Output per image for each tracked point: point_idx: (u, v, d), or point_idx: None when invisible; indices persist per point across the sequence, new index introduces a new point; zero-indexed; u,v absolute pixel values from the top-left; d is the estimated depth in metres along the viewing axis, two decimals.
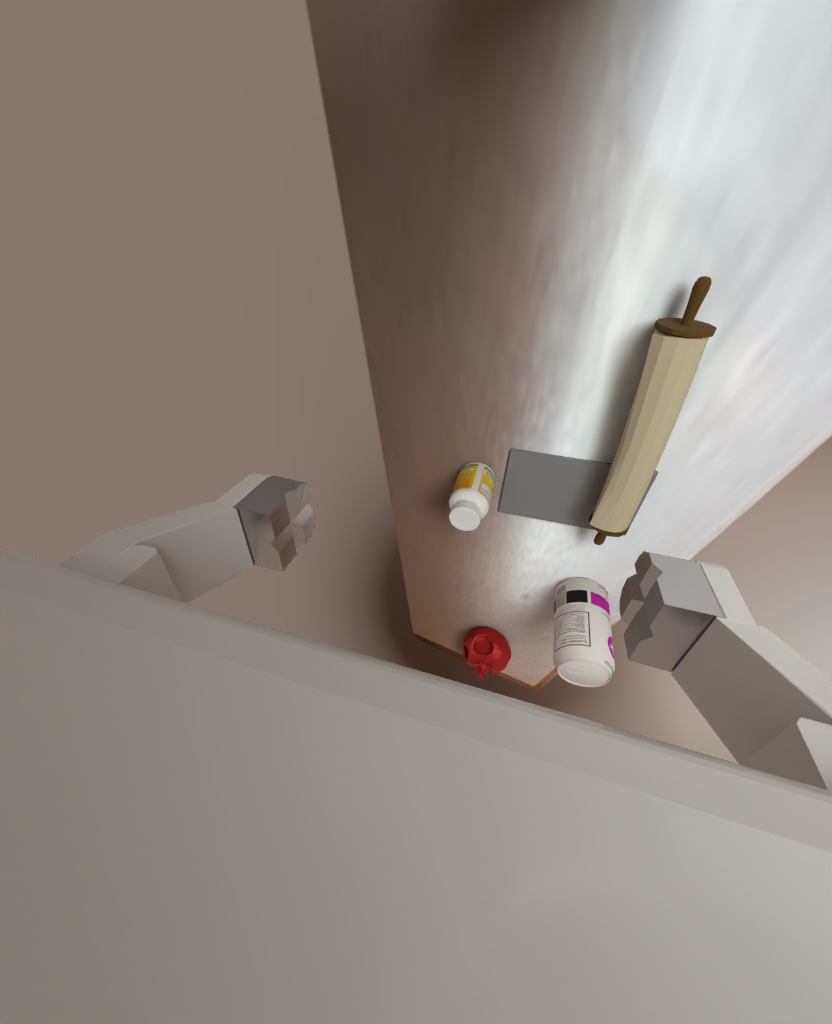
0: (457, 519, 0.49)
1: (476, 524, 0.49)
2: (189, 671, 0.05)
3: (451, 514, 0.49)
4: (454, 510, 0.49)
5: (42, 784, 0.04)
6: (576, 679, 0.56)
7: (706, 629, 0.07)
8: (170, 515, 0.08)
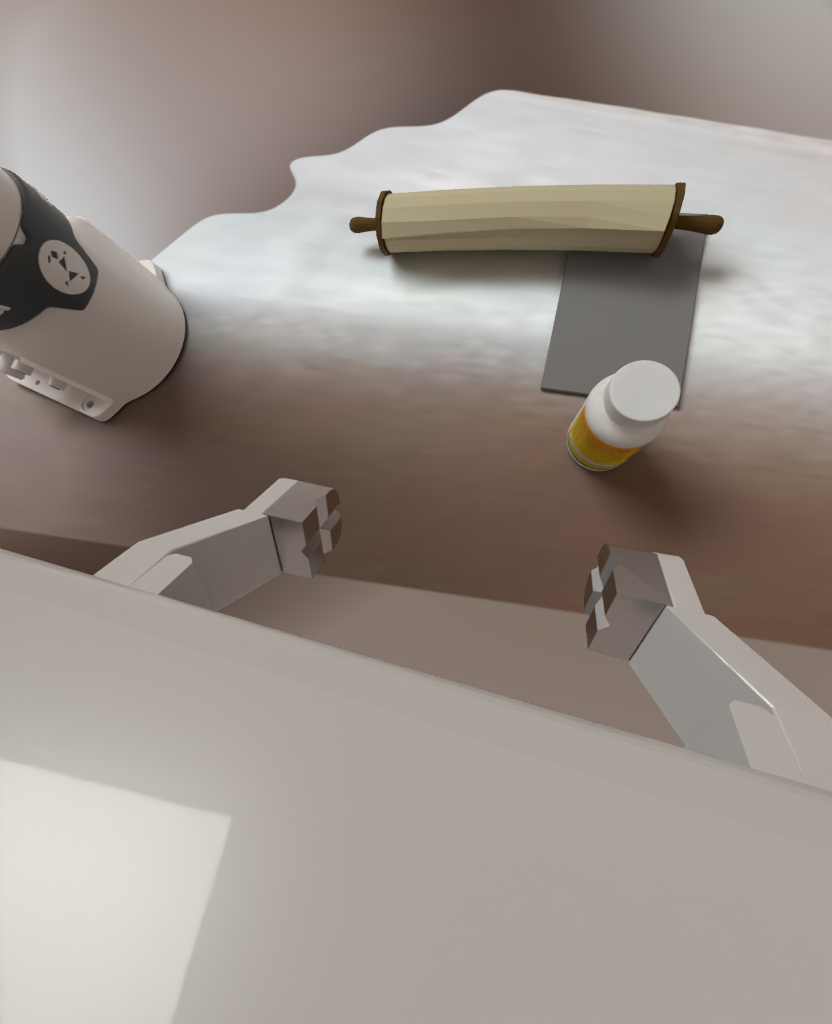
0: (646, 403, 0.23)
1: (656, 365, 0.23)
2: (189, 671, 0.05)
3: (632, 415, 0.23)
4: (619, 408, 0.23)
5: (44, 783, 0.04)
6: None
7: (657, 618, 0.07)
8: (201, 523, 0.08)
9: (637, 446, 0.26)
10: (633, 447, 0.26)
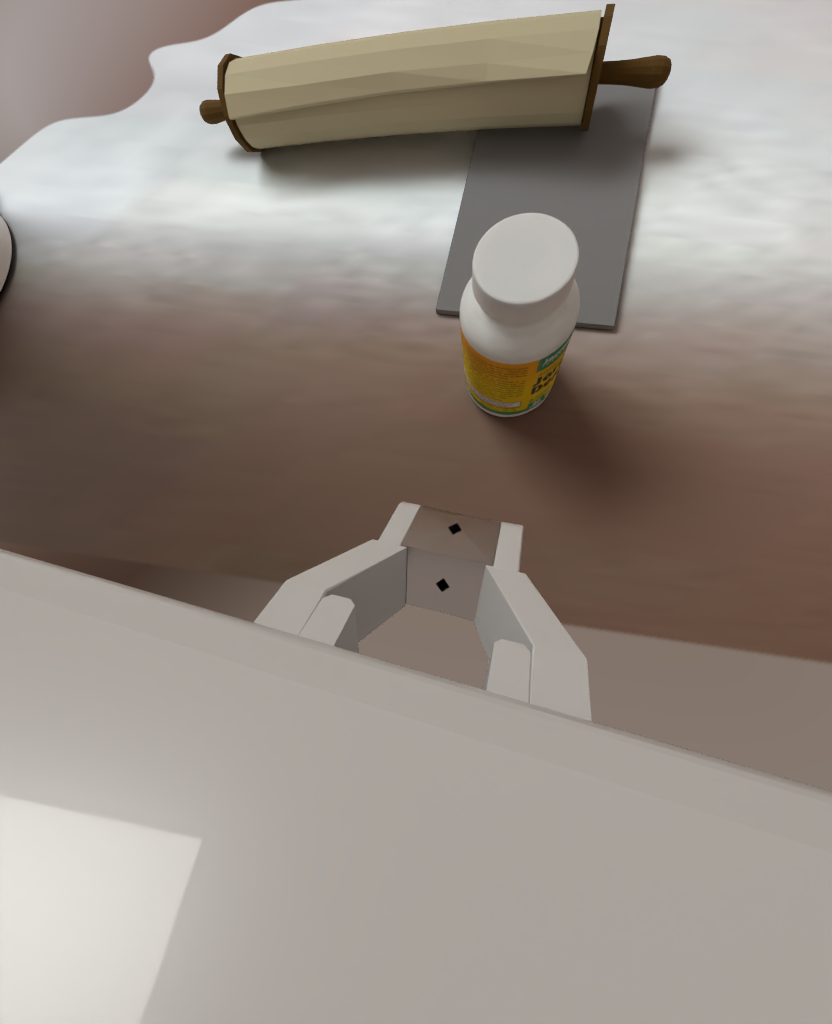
0: (526, 277, 0.15)
1: (543, 219, 0.15)
2: (189, 671, 0.05)
3: (504, 295, 0.15)
4: (486, 286, 0.15)
5: (43, 784, 0.04)
6: None
7: (482, 577, 0.08)
8: (342, 556, 0.07)
9: (531, 360, 0.17)
10: (525, 362, 0.17)
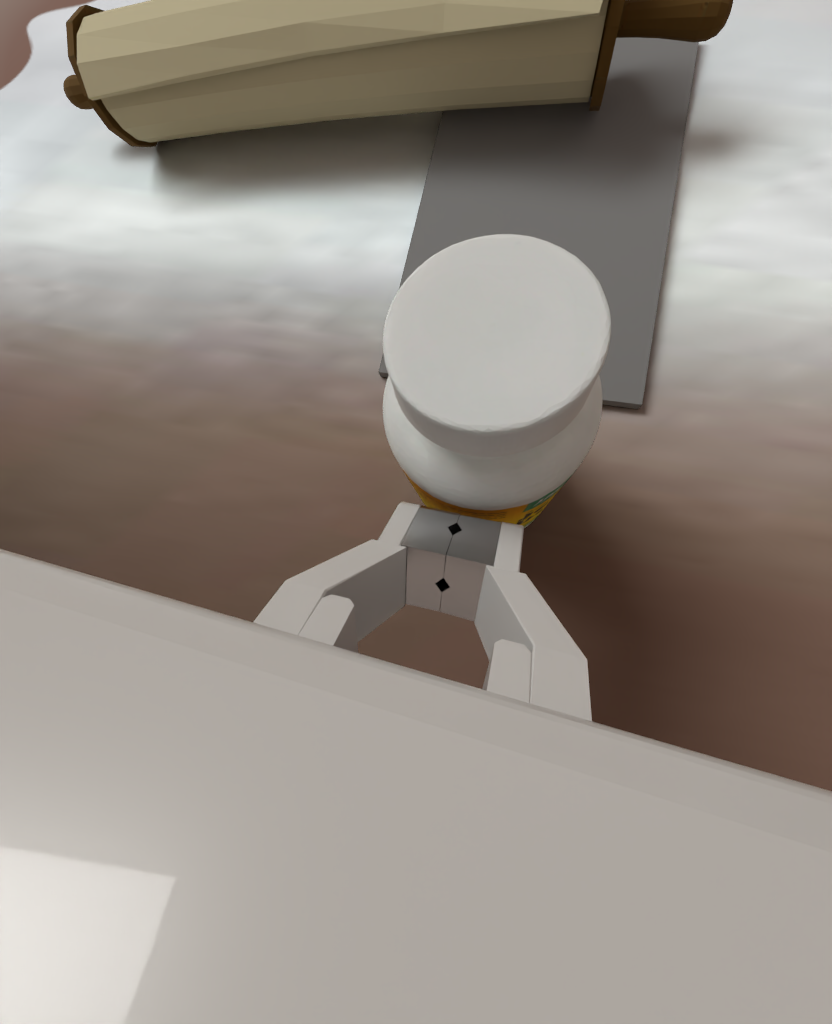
0: (495, 372, 0.07)
1: (532, 248, 0.07)
2: (189, 671, 0.05)
3: (447, 411, 0.07)
4: (408, 388, 0.07)
5: (43, 784, 0.04)
6: None
7: (482, 577, 0.08)
8: (342, 556, 0.07)
9: (511, 506, 0.09)
10: (501, 508, 0.09)
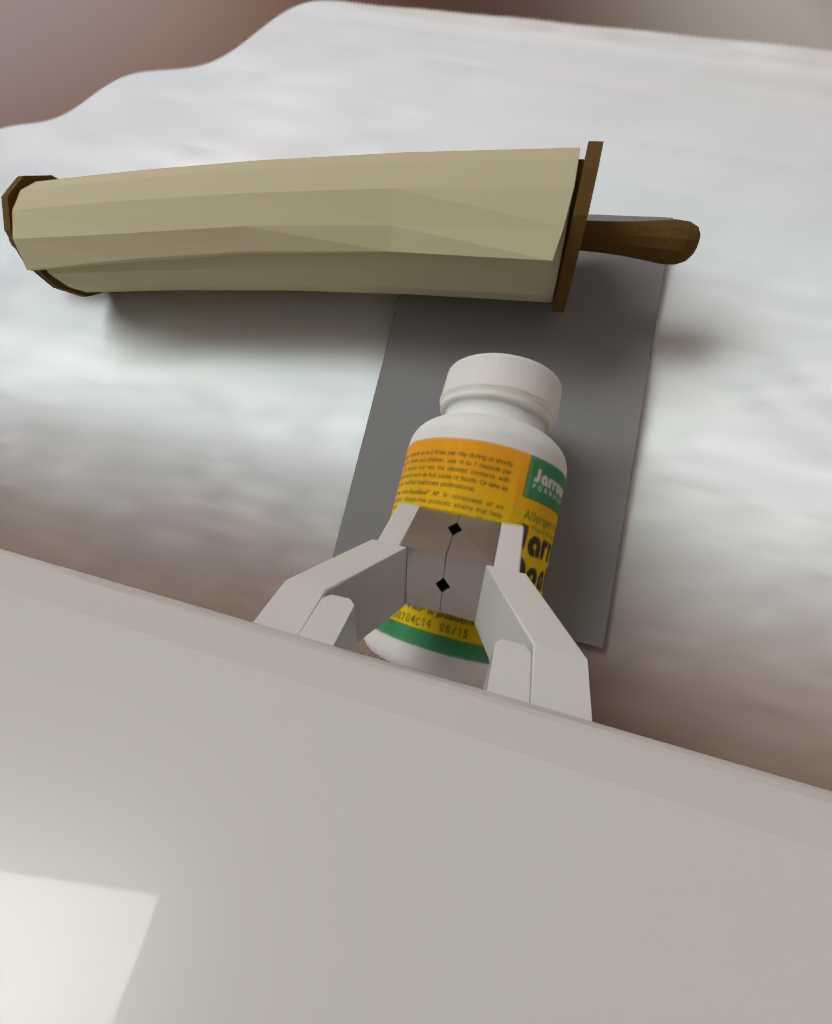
0: None
1: None
2: (189, 671, 0.05)
3: None
4: None
5: (44, 783, 0.04)
6: None
7: (483, 577, 0.08)
8: (342, 556, 0.07)
9: (519, 444, 0.11)
10: (511, 444, 0.10)
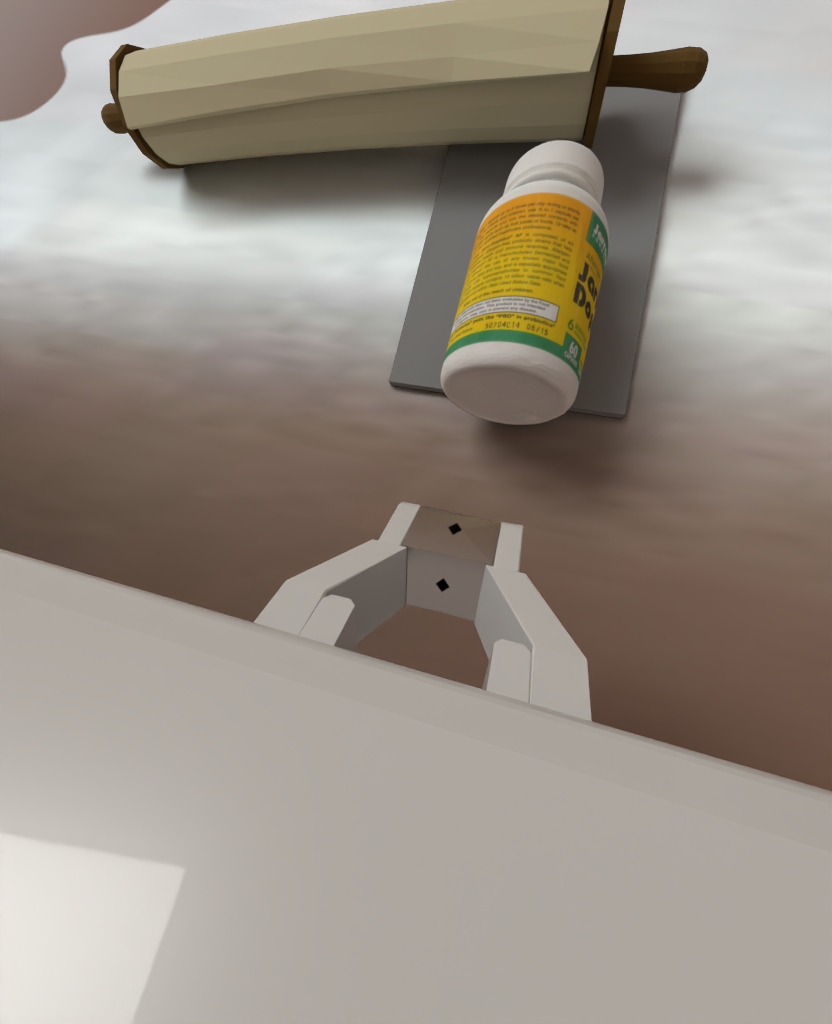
0: None
1: None
2: (189, 671, 0.05)
3: None
4: None
5: (43, 784, 0.04)
6: None
7: (482, 577, 0.08)
8: (342, 556, 0.07)
9: (584, 200, 0.13)
10: (579, 198, 0.13)
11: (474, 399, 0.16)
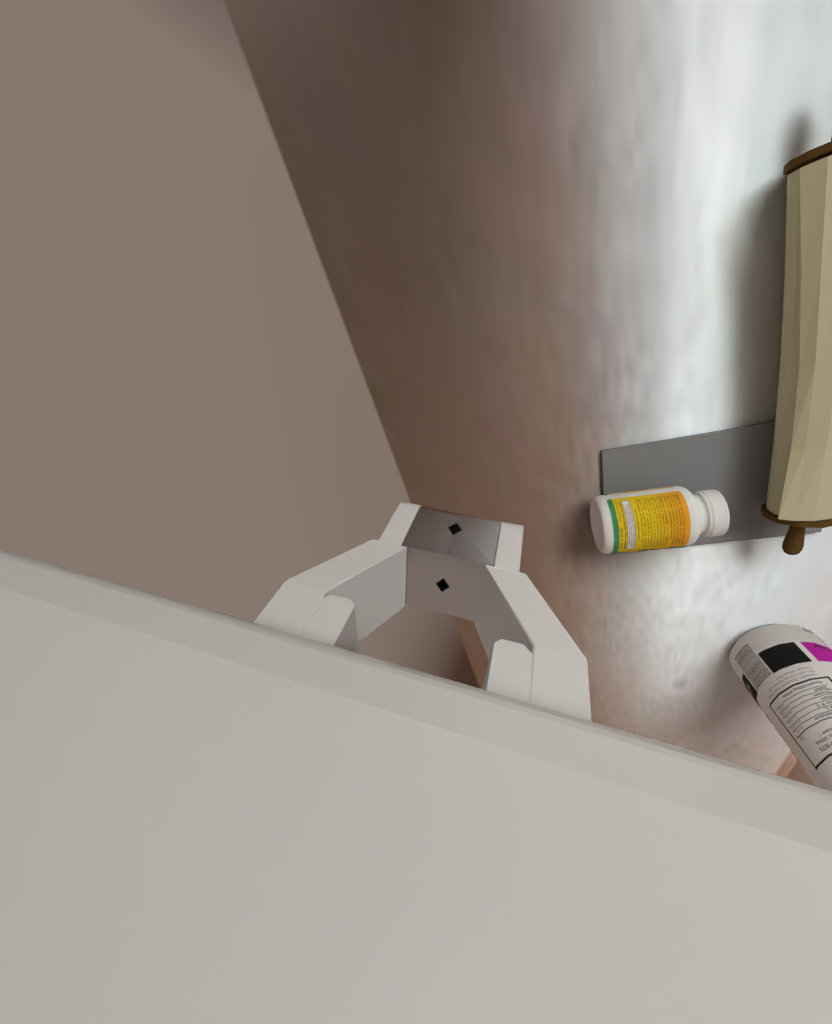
0: None
1: None
2: (189, 671, 0.05)
3: None
4: (728, 510, 0.31)
5: (43, 784, 0.04)
6: None
7: (482, 577, 0.08)
8: (342, 556, 0.07)
9: (688, 543, 0.32)
10: (688, 542, 0.32)
11: (595, 510, 0.35)
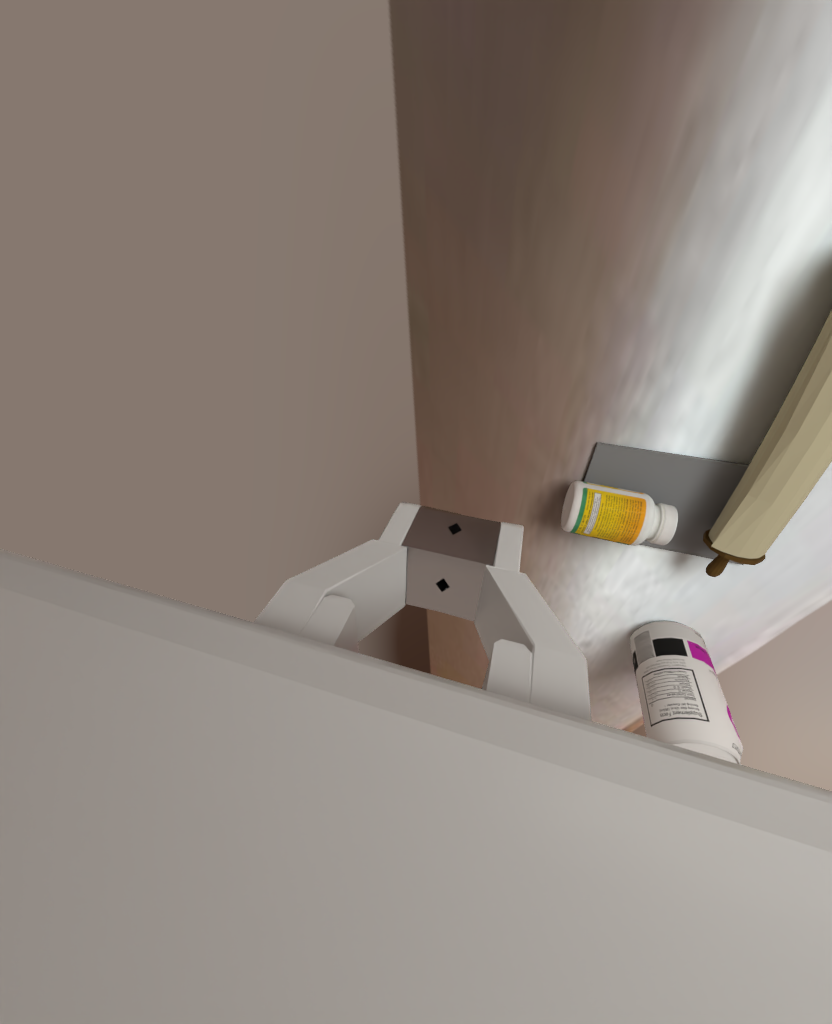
0: None
1: None
2: (189, 671, 0.05)
3: None
4: None
5: (42, 784, 0.04)
6: None
7: (482, 577, 0.08)
8: (342, 556, 0.07)
9: (633, 543, 0.37)
10: (634, 542, 0.37)
11: (571, 493, 0.39)
